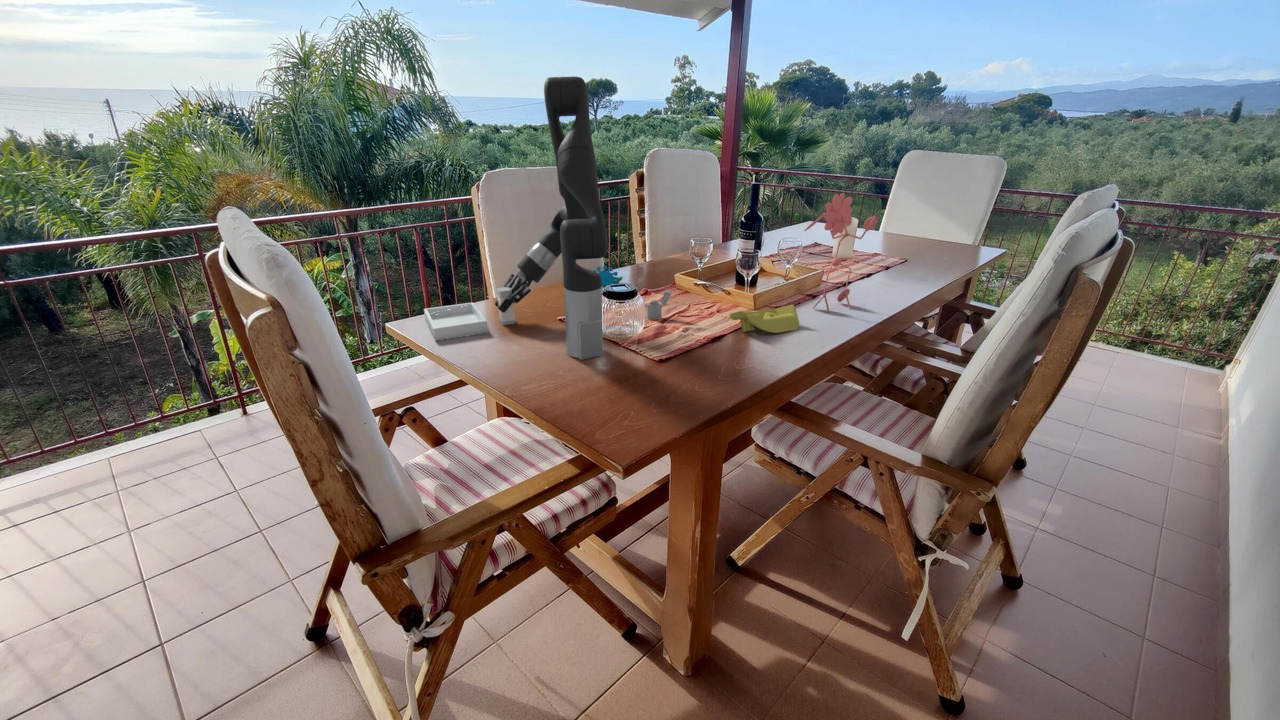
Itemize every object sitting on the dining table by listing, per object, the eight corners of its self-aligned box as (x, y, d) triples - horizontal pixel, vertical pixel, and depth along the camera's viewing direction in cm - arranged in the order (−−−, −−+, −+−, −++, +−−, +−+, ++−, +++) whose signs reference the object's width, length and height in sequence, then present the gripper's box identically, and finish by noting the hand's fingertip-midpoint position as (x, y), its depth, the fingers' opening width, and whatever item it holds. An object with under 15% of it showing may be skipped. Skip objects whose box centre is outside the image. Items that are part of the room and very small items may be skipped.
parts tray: (488, 332, 151) (486, 320, 149) (435, 341, 145) (433, 328, 143) (474, 313, 165) (472, 302, 164) (425, 320, 159) (423, 308, 158)
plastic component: (772, 309, 165) (797, 303, 157) (776, 333, 165) (801, 328, 156) (722, 315, 155) (745, 309, 146) (726, 341, 155) (750, 336, 146)
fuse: (515, 323, 158) (512, 290, 154) (502, 325, 156) (499, 291, 152) (511, 319, 161) (508, 286, 157) (499, 321, 159) (496, 288, 155)
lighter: (648, 318, 163) (648, 293, 159) (646, 317, 164) (647, 291, 161) (670, 317, 164) (671, 291, 161) (668, 315, 166) (669, 289, 163)
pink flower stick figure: (870, 305, 176) (889, 193, 162) (811, 318, 165) (826, 198, 151) (834, 294, 189) (849, 188, 175) (777, 304, 177) (788, 193, 164)
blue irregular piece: (593, 288, 185) (591, 263, 188) (589, 297, 190) (587, 272, 193) (624, 290, 188) (622, 265, 192) (619, 299, 193) (617, 274, 197)
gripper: (520, 249, 160) (483, 294, 159) (535, 259, 148) (494, 308, 148) (539, 264, 164) (502, 309, 164) (554, 276, 152) (515, 323, 152)
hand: (499, 308), depth 156 cm, fingers closed on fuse, 3 cm apart
